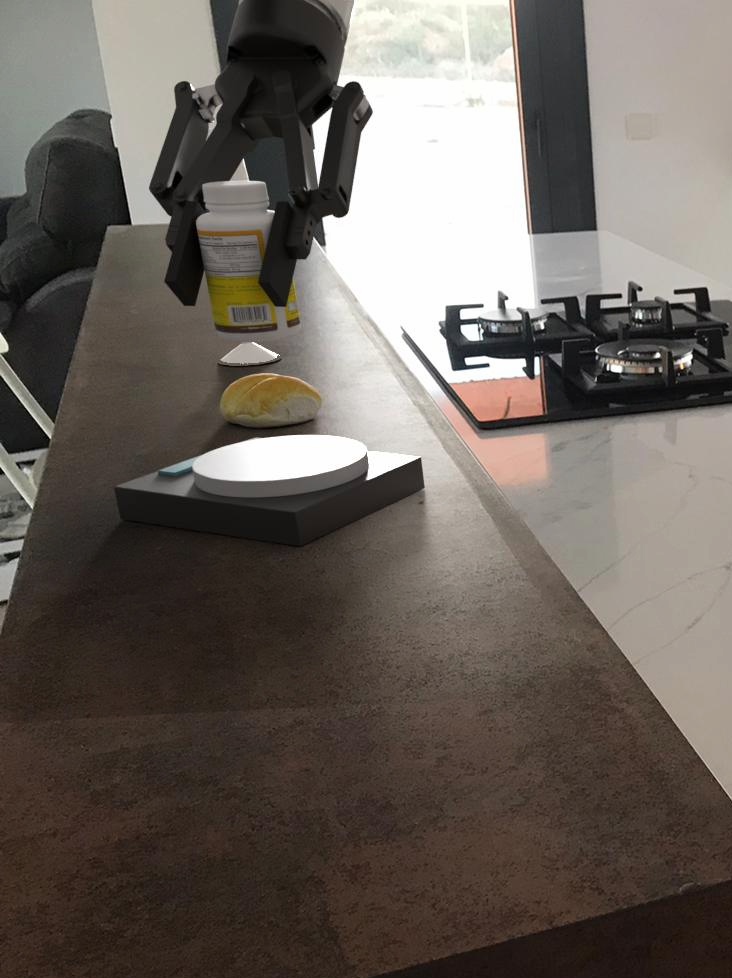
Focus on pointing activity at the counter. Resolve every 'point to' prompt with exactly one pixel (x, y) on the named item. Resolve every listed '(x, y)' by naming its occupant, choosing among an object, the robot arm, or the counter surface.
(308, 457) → the scale
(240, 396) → the bread roll
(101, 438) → the counter surface
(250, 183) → the supplement bottle
